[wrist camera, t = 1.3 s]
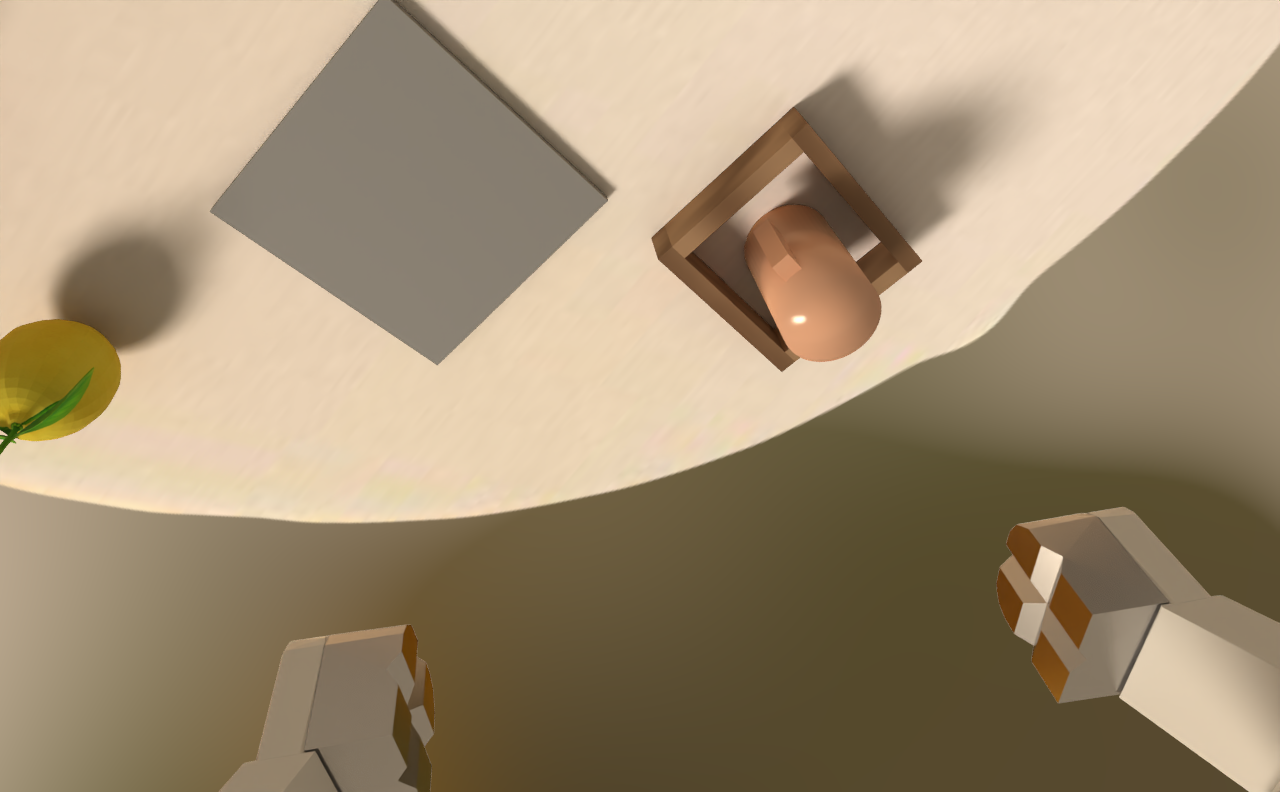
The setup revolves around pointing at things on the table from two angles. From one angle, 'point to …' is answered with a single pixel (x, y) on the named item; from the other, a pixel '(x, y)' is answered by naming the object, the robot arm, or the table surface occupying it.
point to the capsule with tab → (811, 284)
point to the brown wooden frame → (742, 186)
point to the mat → (408, 187)
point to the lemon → (54, 379)
